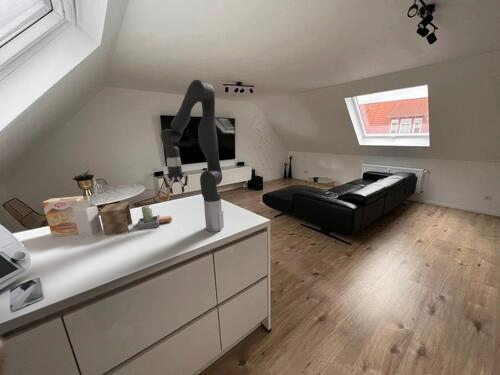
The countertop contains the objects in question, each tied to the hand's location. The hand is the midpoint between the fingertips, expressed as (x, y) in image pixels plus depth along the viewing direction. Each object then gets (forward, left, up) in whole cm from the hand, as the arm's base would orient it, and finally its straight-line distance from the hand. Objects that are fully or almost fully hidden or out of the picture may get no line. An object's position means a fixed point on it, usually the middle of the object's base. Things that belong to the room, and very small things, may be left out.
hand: (177, 193), depth 119 cm
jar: (+15, +9, -16) cm, 24 cm away
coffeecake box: (+51, +25, -18) cm, 60 cm away
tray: (+12, +7, -17) cm, 22 cm away
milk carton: (+39, +24, -18) cm, 49 cm away
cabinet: (+28, +17, -17) cm, 37 cm away
